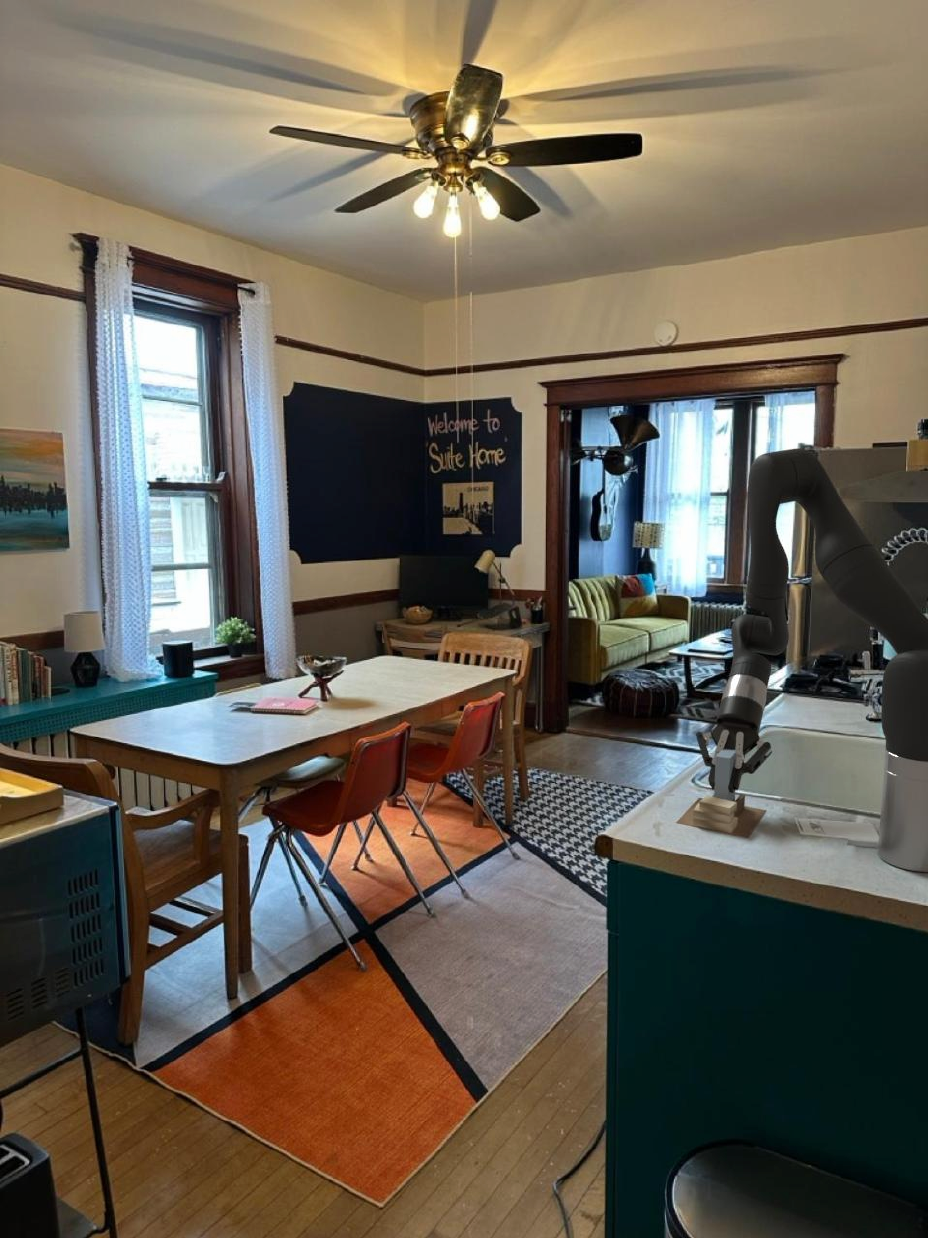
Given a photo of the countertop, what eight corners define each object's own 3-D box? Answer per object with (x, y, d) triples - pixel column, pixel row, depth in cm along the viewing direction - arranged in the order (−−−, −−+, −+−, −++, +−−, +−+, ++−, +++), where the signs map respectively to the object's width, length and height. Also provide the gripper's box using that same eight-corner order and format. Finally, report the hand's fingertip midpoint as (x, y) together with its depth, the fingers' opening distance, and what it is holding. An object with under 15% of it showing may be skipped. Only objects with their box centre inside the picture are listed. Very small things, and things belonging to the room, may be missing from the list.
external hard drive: (882, 851, 130) (800, 843, 133) (870, 831, 138) (792, 824, 141) (883, 842, 130) (800, 834, 133) (871, 822, 138) (793, 815, 141)
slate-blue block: (734, 810, 143) (737, 750, 142) (727, 819, 139) (729, 758, 137) (720, 807, 145) (723, 748, 143) (713, 816, 140) (715, 756, 139)
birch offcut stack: (737, 825, 137) (738, 801, 136) (731, 833, 133) (732, 809, 133) (698, 817, 140) (699, 794, 140) (691, 825, 137) (692, 801, 136)
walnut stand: (766, 815, 143) (767, 797, 143) (748, 843, 132) (749, 823, 131) (698, 802, 150) (699, 784, 149) (675, 828, 138) (676, 808, 137)
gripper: (700, 689, 149) (678, 771, 140) (780, 699, 142) (761, 786, 133) (707, 711, 154) (686, 792, 146) (784, 721, 147) (766, 807, 138)
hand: (722, 788), depth 139 cm, fingers closed on slate-blue block, 2 cm apart
